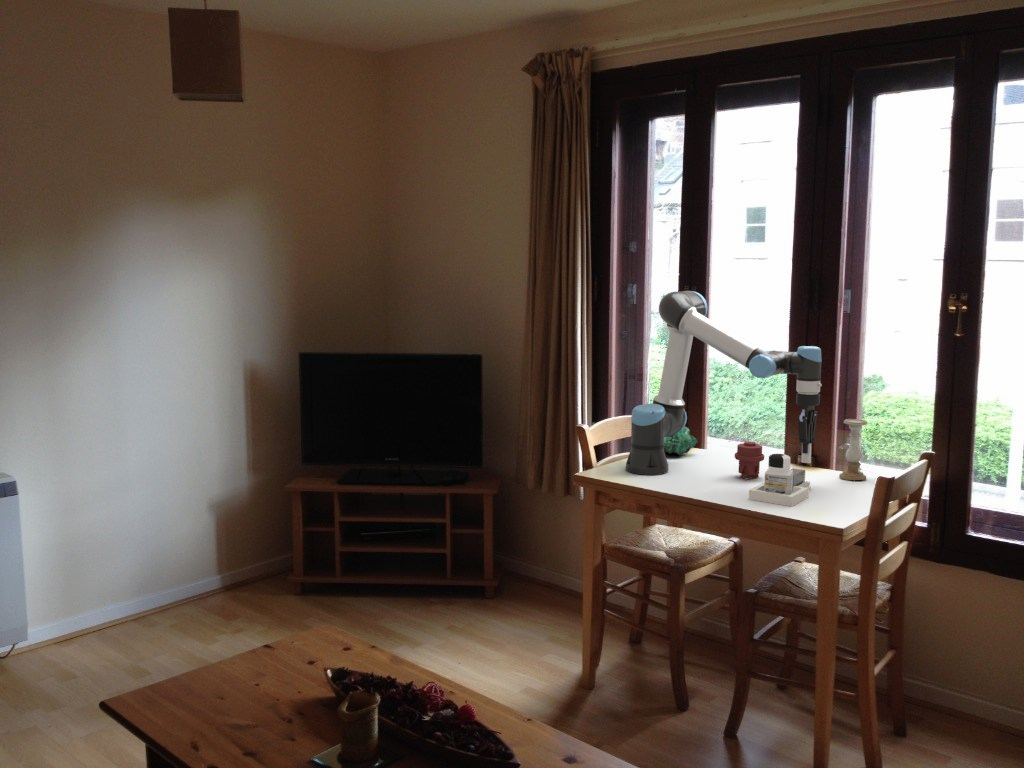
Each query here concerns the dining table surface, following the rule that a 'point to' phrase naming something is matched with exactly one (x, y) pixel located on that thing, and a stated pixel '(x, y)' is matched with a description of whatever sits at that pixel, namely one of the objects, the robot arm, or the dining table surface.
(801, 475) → the grey rectangular block
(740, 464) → the mechanical component
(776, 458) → the container
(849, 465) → the candle holder
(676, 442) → the mineral
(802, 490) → the dock socket
